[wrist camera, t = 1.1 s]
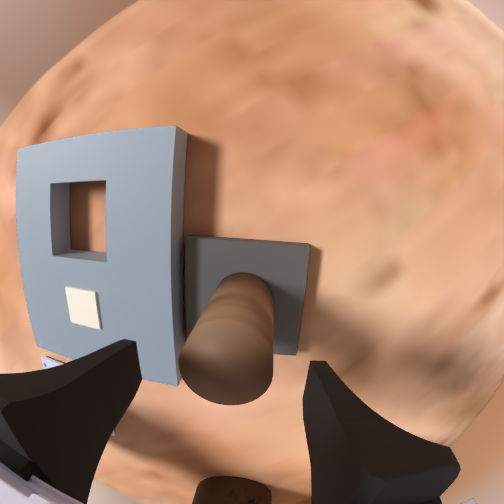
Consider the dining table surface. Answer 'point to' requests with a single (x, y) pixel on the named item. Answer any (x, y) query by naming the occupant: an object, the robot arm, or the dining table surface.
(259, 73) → the dining table surface
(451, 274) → the dining table surface
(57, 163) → the hole plate
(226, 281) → the walnut peg
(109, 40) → the dining table surface
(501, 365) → the dining table surface
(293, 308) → the pad
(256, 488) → the olive oil
